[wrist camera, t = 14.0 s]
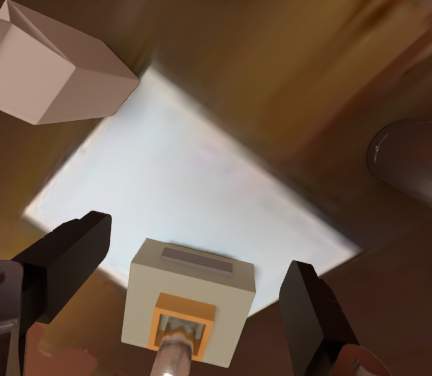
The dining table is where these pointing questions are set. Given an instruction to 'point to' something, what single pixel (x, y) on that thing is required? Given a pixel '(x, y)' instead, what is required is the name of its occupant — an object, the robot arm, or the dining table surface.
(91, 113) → the milk carton
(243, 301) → the slab with orange tray
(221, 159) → the dining table surface
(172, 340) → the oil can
